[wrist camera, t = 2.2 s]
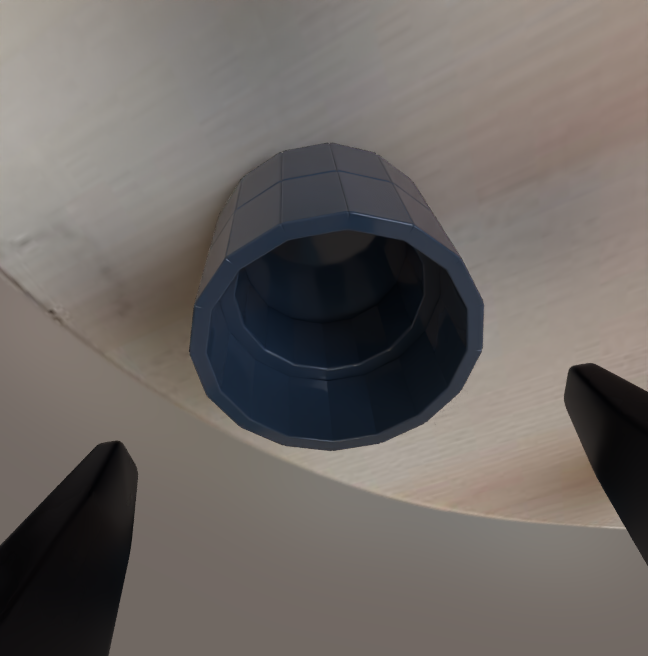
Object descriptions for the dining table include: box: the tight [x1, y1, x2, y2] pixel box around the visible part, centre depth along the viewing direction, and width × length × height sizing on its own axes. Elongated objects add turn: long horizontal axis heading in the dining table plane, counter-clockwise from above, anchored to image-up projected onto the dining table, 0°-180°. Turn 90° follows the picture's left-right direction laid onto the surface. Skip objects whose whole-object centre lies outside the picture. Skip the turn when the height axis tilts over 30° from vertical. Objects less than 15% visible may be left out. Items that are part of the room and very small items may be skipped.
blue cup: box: [189, 143, 484, 451], centre depth 14 cm, size 7×7×6 cm
